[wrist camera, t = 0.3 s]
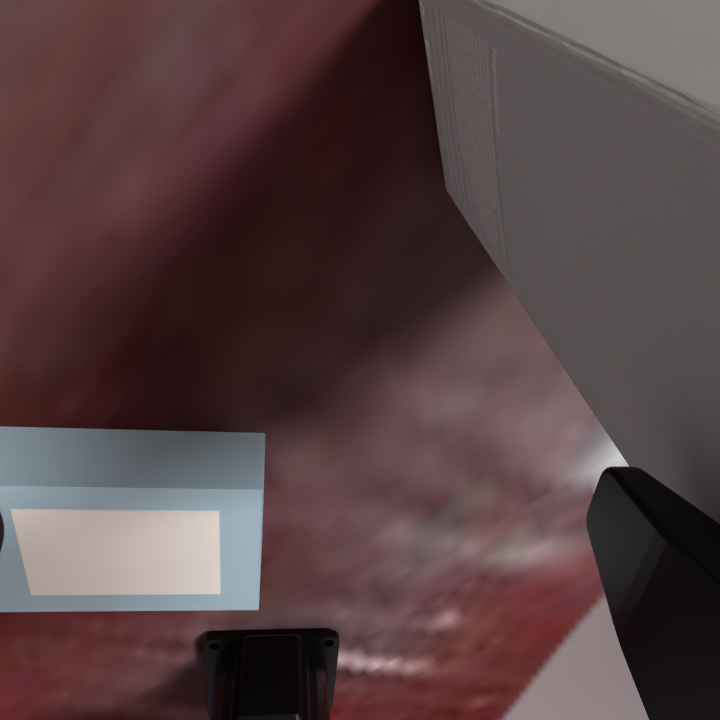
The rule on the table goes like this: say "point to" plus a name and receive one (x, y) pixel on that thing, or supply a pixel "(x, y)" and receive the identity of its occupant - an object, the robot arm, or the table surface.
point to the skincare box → (599, 201)
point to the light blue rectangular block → (130, 519)
